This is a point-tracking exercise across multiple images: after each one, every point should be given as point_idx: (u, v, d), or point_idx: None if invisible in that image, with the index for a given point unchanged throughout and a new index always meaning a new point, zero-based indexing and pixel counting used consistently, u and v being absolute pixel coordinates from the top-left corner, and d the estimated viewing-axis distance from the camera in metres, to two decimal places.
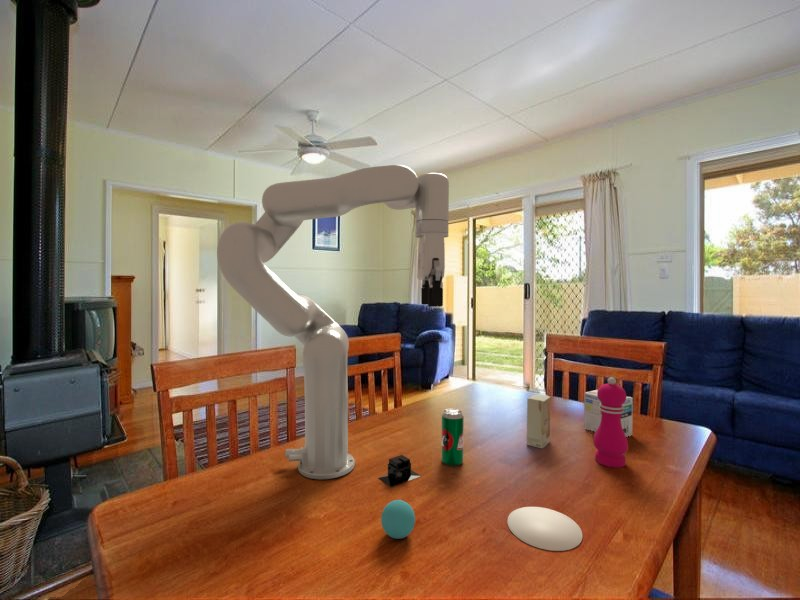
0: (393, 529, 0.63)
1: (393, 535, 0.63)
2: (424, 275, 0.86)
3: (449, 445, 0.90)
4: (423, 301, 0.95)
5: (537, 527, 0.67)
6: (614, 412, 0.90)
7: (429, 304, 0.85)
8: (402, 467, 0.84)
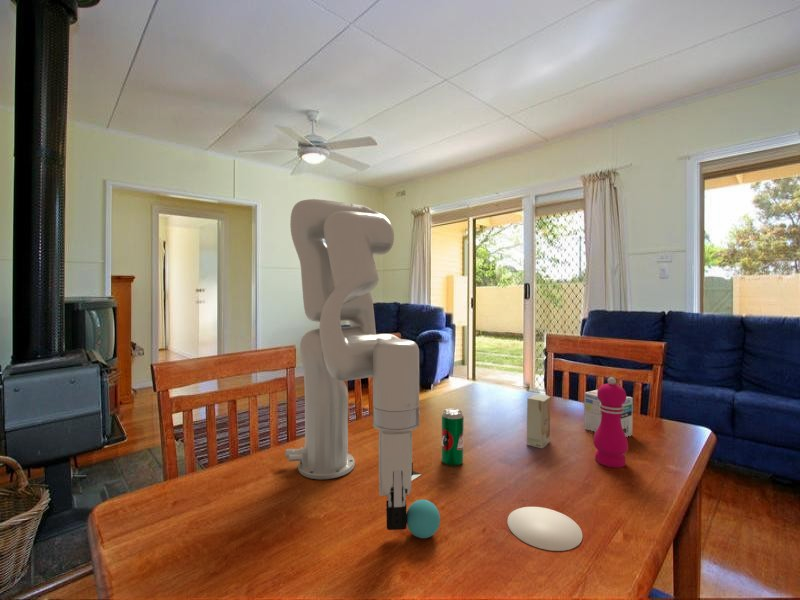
0: (421, 524, 0.63)
1: (415, 525, 0.63)
2: (382, 494, 0.60)
3: (449, 445, 0.90)
4: None
5: (537, 527, 0.67)
6: (614, 412, 0.90)
7: (388, 527, 0.64)
8: None
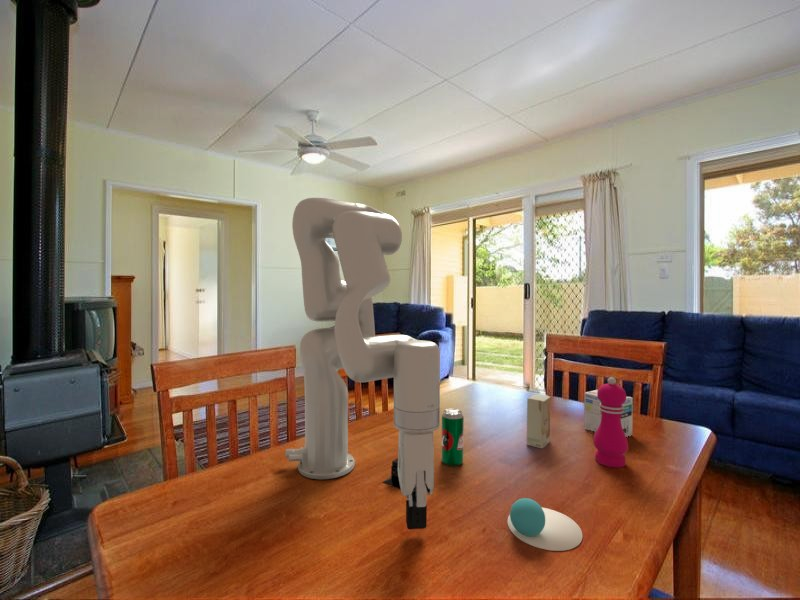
0: (530, 522, 0.63)
1: (523, 523, 0.64)
2: (404, 494, 0.60)
3: (449, 445, 0.90)
4: None
5: None
6: (614, 412, 0.90)
7: (408, 526, 0.65)
8: None
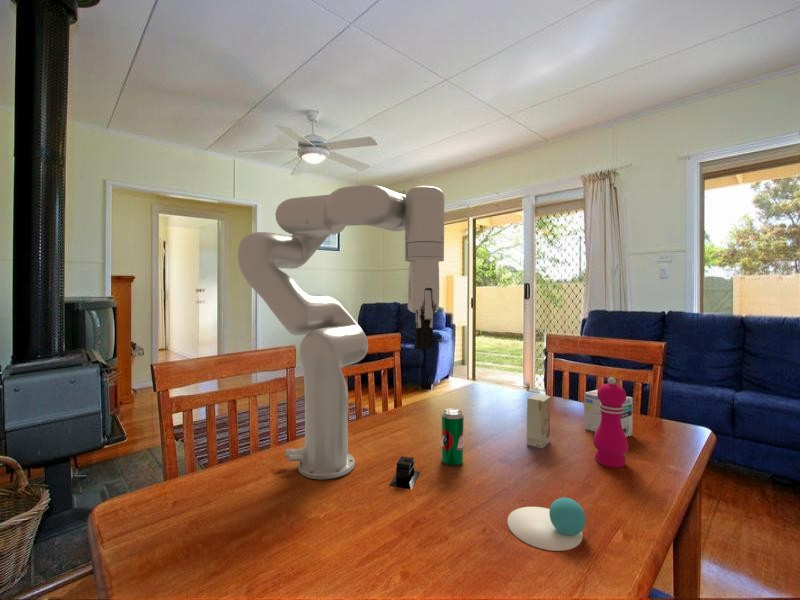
0: (579, 527, 0.64)
1: (581, 519, 0.64)
2: (415, 308, 0.72)
3: (449, 445, 0.90)
4: None
5: (537, 527, 0.67)
6: (614, 412, 0.90)
7: (417, 346, 0.76)
8: (410, 467, 0.84)
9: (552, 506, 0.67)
